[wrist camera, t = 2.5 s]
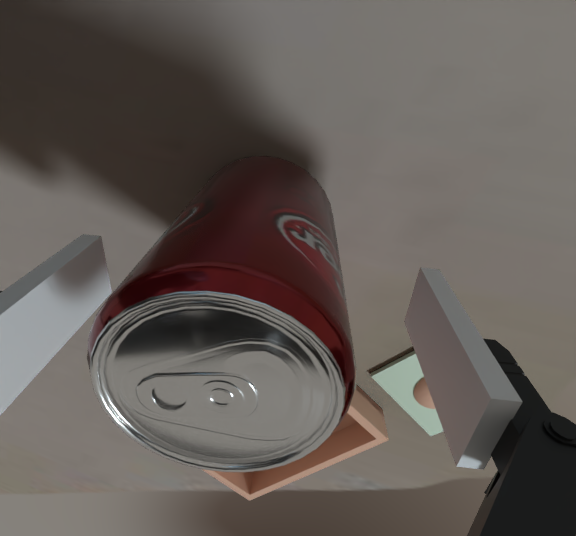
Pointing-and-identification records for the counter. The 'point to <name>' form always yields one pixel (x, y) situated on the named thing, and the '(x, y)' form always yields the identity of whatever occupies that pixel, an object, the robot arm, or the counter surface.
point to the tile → (410, 391)
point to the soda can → (232, 327)
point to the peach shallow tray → (317, 450)
